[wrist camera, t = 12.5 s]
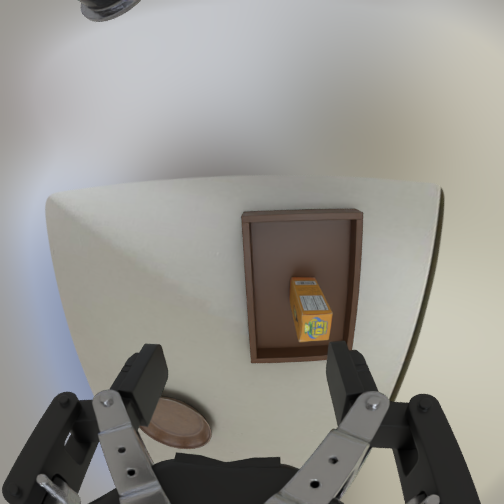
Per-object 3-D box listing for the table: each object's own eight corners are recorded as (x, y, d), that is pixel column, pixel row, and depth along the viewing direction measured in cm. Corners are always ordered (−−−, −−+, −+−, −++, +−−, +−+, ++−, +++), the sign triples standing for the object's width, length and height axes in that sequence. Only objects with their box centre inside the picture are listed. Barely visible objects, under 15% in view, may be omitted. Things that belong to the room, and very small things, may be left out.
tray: (243, 211, 34) (241, 215, 31) (355, 208, 34) (363, 212, 31) (252, 350, 40) (251, 363, 37) (346, 345, 39) (350, 357, 36)
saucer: (122, 400, 45) (117, 409, 43) (176, 378, 42) (171, 389, 40) (173, 444, 48) (170, 454, 46) (230, 429, 46) (228, 439, 43)
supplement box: (315, 299, 37) (329, 343, 27) (289, 299, 37) (294, 343, 27) (317, 275, 36) (333, 314, 26) (290, 275, 36) (297, 314, 26)
